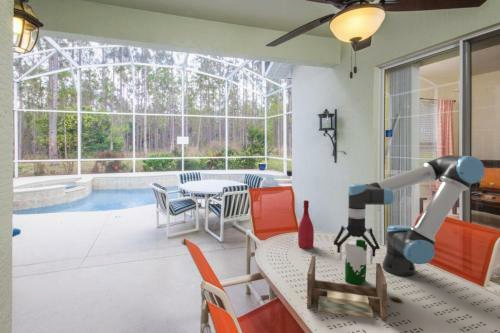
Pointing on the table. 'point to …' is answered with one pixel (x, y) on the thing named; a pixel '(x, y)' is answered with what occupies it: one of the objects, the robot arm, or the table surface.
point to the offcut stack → (345, 304)
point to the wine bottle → (305, 229)
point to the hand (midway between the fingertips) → (355, 261)
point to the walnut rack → (349, 289)
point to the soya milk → (355, 262)
